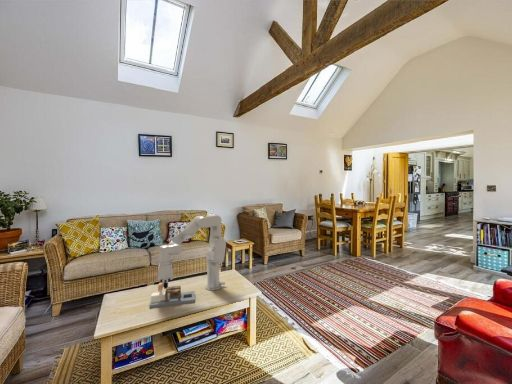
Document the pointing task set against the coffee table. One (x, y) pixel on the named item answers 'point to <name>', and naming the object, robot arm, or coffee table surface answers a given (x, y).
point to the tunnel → (173, 292)
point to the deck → (175, 300)
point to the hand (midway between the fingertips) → (165, 287)
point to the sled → (159, 294)
